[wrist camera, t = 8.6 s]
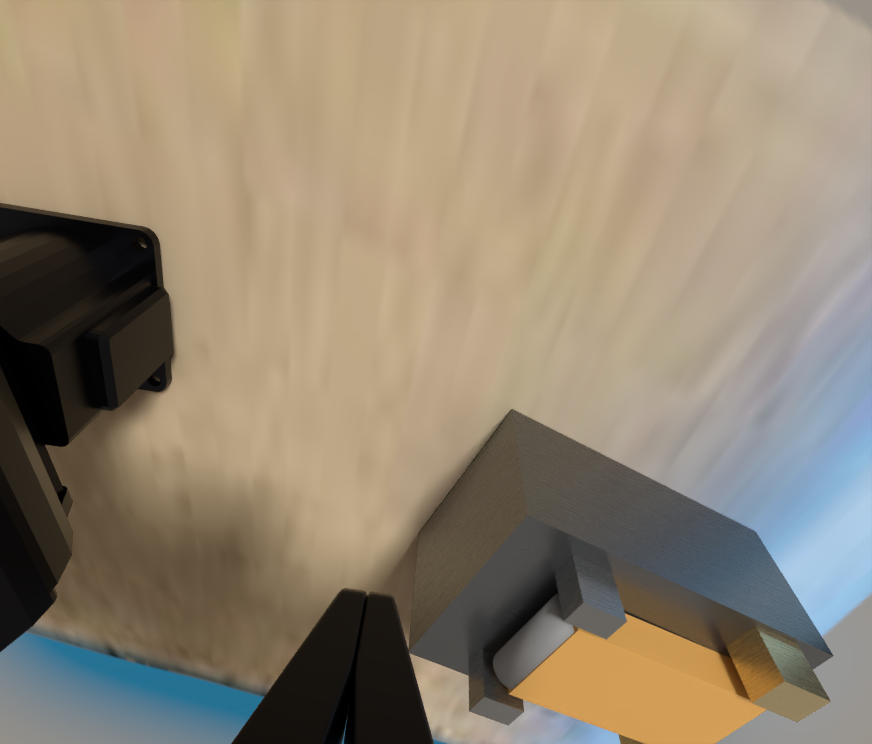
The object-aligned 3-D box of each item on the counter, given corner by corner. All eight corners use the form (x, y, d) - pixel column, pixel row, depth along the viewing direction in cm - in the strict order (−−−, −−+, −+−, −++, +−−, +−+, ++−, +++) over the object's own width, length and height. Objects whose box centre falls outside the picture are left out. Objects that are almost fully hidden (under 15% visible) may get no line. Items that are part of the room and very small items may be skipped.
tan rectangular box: (488, 647, 20) (491, 687, 19) (552, 582, 18) (559, 622, 17) (675, 718, 22) (689, 759, 21) (749, 666, 20) (769, 708, 19)
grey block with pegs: (418, 533, 26) (403, 707, 19) (512, 409, 22) (535, 566, 15) (640, 629, 29) (699, 812, 22) (755, 531, 25) (869, 713, 18)
